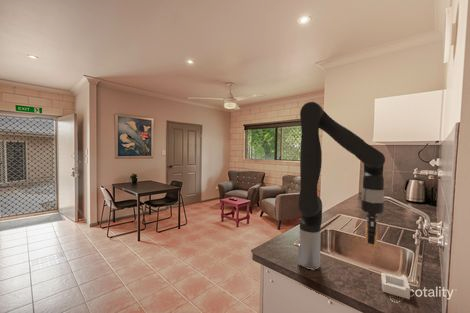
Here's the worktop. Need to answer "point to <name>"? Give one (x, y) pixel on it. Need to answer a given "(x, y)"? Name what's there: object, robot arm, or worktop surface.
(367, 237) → the orange capsule
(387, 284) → the housing
